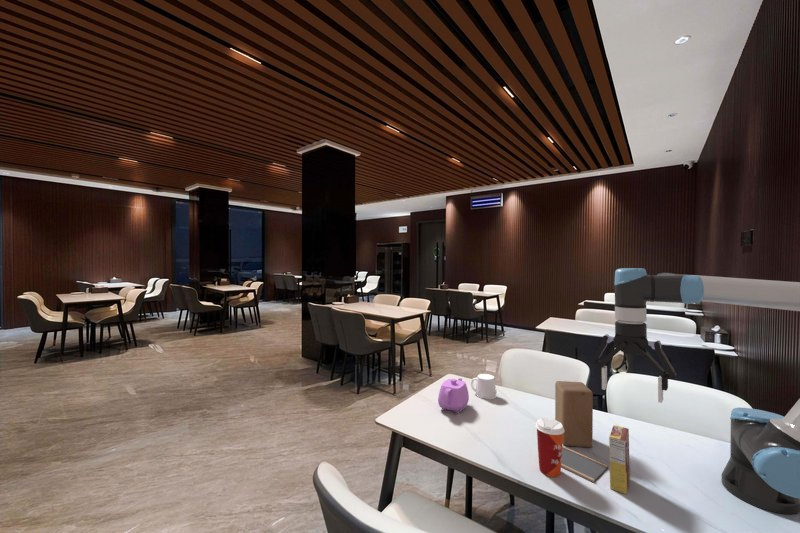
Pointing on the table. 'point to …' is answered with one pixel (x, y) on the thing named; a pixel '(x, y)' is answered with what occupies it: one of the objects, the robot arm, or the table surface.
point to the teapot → (453, 395)
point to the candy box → (619, 459)
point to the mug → (485, 386)
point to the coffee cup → (549, 446)
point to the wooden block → (574, 412)
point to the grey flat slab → (582, 465)
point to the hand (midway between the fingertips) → (631, 394)
